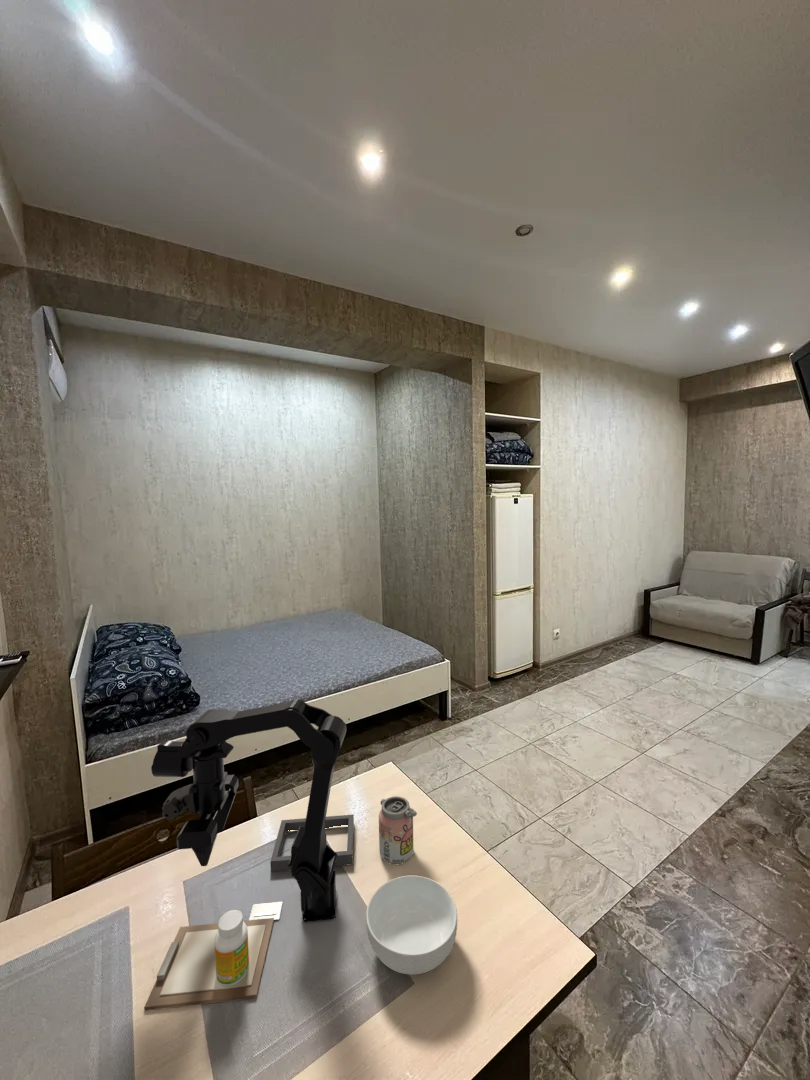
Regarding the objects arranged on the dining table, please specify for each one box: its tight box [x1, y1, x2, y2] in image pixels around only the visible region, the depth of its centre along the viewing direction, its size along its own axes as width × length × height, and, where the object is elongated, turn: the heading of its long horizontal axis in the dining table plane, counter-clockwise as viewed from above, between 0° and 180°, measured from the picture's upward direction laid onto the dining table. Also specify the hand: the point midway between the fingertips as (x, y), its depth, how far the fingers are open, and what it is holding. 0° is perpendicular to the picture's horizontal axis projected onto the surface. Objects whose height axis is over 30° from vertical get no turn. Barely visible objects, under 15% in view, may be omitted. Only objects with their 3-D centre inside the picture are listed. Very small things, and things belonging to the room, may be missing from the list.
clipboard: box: [143, 918, 275, 1011], centre depth 80 cm, size 18×14×2 cm
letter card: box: [248, 901, 283, 922], centre depth 89 cm, size 6×4×1 cm, turn 95°
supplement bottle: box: [215, 909, 249, 987], centre depth 77 cm, size 5×5×10 cm
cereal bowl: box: [365, 874, 458, 976], centre depth 82 cm, size 17×17×7 cm
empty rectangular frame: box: [270, 813, 355, 873], centre depth 107 cm, size 18×13×2 cm
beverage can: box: [378, 795, 418, 865], centre depth 104 cm, size 9×8×12 cm
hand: (212, 847), depth 90 cm, fingers open, 9 cm apart
